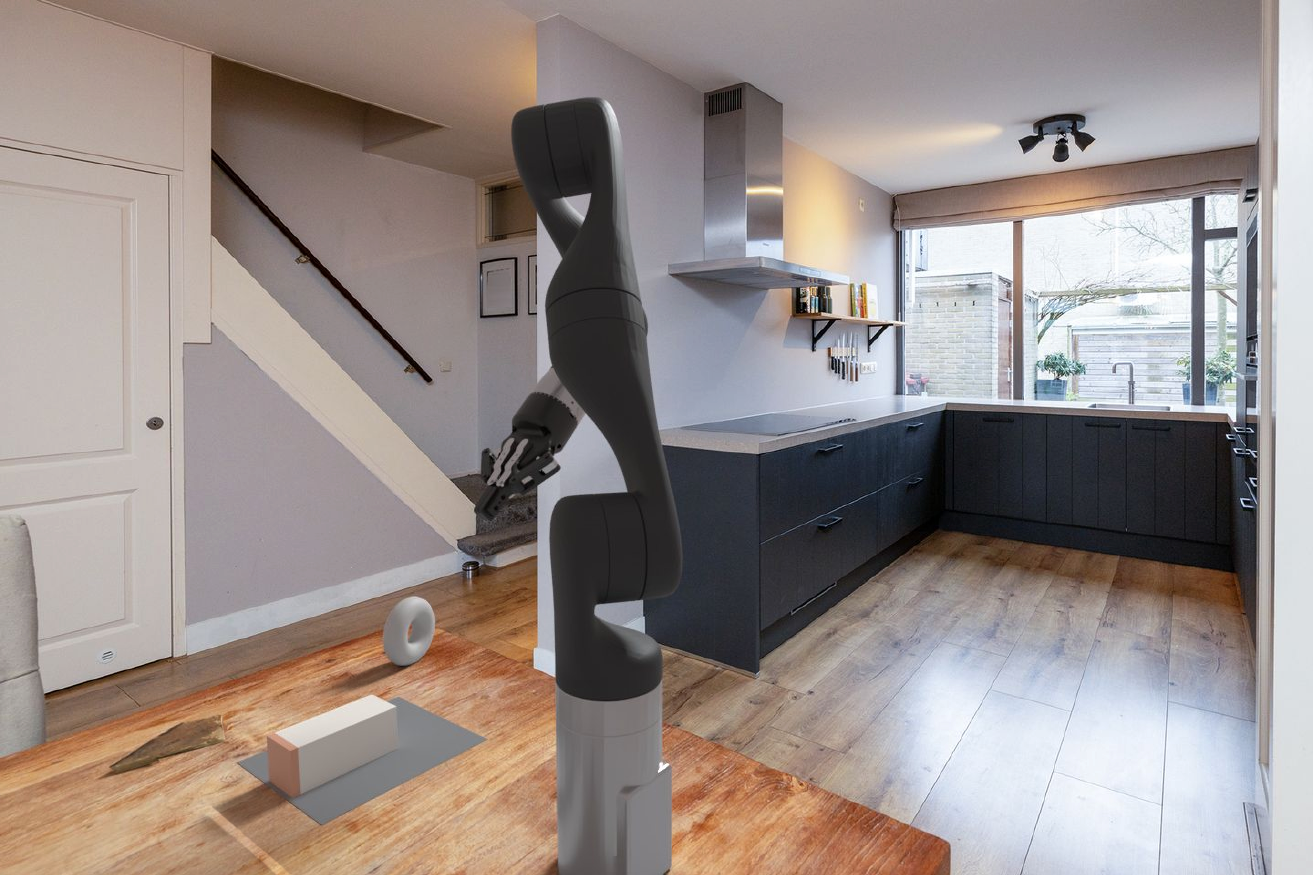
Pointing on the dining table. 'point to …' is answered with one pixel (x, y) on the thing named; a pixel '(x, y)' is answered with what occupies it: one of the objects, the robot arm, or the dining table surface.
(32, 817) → the dining table surface
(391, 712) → the block
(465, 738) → the mat
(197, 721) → the shard
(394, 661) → the donut
